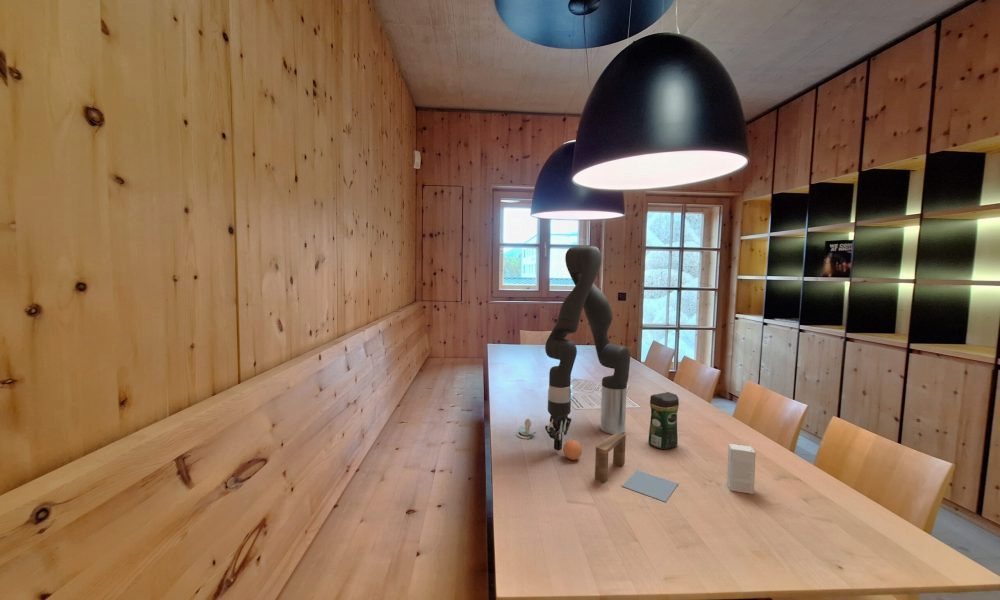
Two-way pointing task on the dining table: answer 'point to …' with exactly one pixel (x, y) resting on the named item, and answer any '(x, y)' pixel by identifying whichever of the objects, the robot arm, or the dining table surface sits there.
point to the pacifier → (526, 431)
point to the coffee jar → (663, 420)
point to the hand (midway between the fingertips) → (557, 449)
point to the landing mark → (650, 485)
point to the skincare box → (741, 468)
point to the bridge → (602, 455)
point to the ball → (572, 449)
